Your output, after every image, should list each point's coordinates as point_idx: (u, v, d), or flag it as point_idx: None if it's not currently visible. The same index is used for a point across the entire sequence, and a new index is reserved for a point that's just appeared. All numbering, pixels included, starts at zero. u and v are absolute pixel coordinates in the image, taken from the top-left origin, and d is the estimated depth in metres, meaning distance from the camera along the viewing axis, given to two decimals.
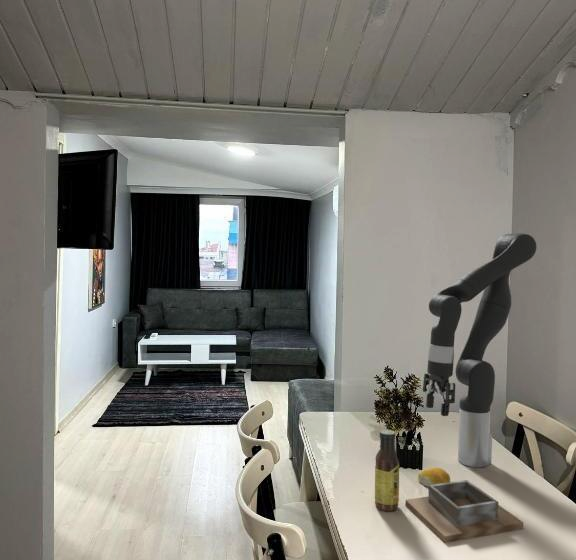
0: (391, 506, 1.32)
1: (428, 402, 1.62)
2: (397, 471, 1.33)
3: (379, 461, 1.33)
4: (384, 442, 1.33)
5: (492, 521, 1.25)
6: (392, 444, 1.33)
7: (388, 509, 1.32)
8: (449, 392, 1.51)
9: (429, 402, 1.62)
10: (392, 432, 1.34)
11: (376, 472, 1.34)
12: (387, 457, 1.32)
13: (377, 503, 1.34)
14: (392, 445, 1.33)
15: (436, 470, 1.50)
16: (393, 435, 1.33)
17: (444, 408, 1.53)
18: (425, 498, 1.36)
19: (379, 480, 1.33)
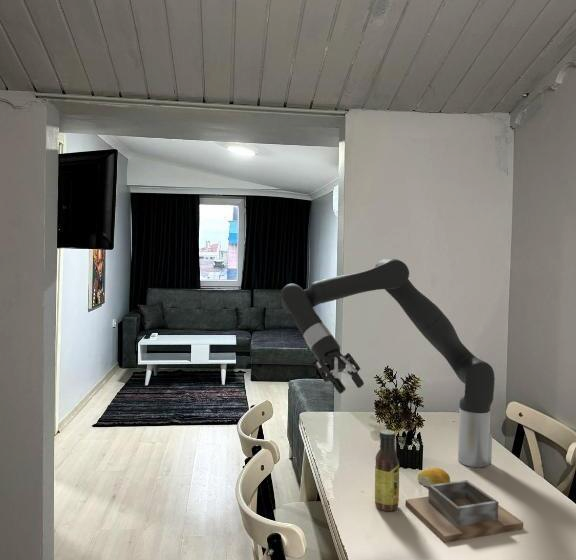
0: (391, 506, 1.32)
1: (355, 383, 1.45)
2: (397, 471, 1.33)
3: (379, 461, 1.33)
4: (384, 442, 1.33)
5: (492, 521, 1.25)
6: (392, 444, 1.33)
7: (388, 509, 1.32)
8: (320, 371, 1.40)
9: (356, 382, 1.45)
10: (392, 432, 1.34)
11: (376, 472, 1.34)
12: (387, 457, 1.32)
13: (377, 503, 1.34)
14: (392, 445, 1.33)
15: (436, 470, 1.50)
16: (393, 435, 1.33)
17: None
18: (425, 498, 1.36)
19: (379, 480, 1.33)
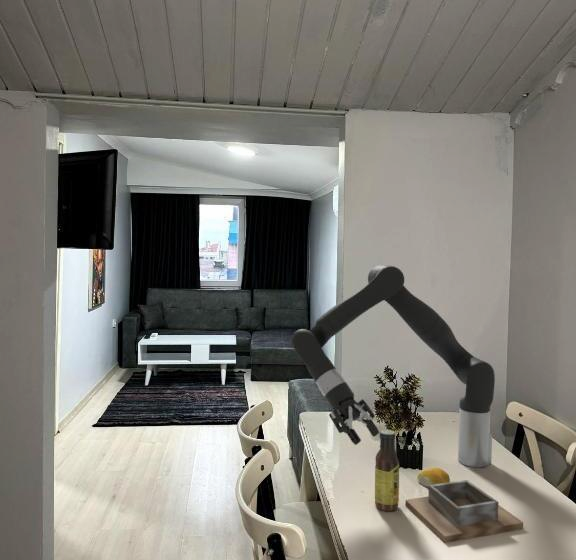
0: (391, 506, 1.32)
1: (370, 431, 1.43)
2: (397, 471, 1.33)
3: (379, 461, 1.33)
4: (384, 442, 1.33)
5: (492, 521, 1.25)
6: (392, 444, 1.33)
7: (388, 509, 1.32)
8: (334, 421, 1.37)
9: (371, 430, 1.42)
10: (392, 432, 1.34)
11: (376, 472, 1.34)
12: (387, 457, 1.32)
13: (377, 503, 1.34)
14: (392, 445, 1.33)
15: (436, 470, 1.49)
16: (393, 435, 1.33)
17: None
18: (425, 498, 1.36)
19: (379, 480, 1.33)
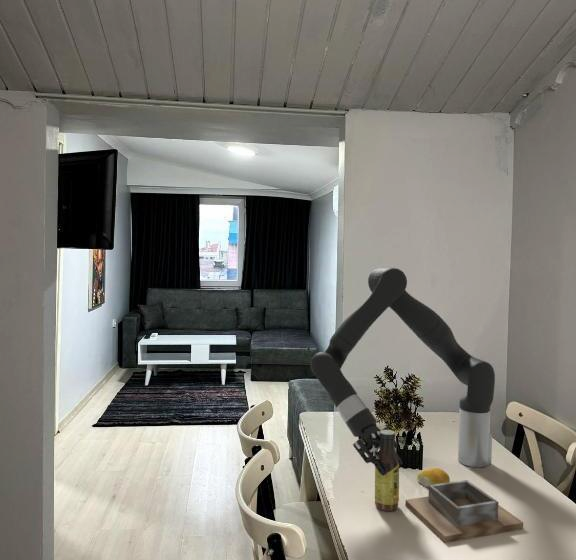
0: (391, 506, 1.32)
1: None
2: (397, 471, 1.32)
3: None
4: (383, 442, 1.33)
5: (492, 521, 1.25)
6: (392, 444, 1.33)
7: (388, 509, 1.32)
8: (359, 452, 1.32)
9: None
10: (392, 432, 1.34)
11: (376, 472, 1.34)
12: (387, 457, 1.32)
13: (377, 503, 1.34)
14: (392, 445, 1.33)
15: (435, 470, 1.49)
16: (393, 435, 1.33)
17: None
18: (425, 498, 1.36)
19: (379, 481, 1.33)
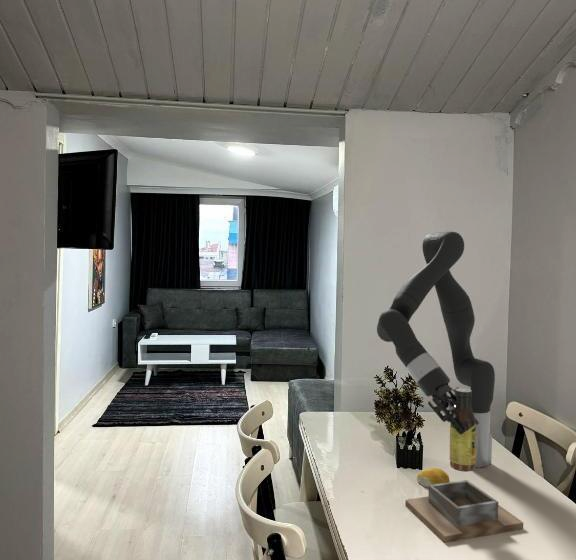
0: (469, 466, 1.26)
1: None
2: (475, 430, 1.27)
3: None
4: (460, 400, 1.27)
5: (492, 521, 1.25)
6: (469, 402, 1.27)
7: (466, 470, 1.26)
8: (435, 410, 1.27)
9: None
10: (469, 390, 1.28)
11: (452, 432, 1.28)
12: (465, 415, 1.26)
13: (453, 464, 1.28)
14: (469, 403, 1.27)
15: (435, 471, 1.49)
16: (470, 393, 1.27)
17: None
18: (425, 498, 1.36)
19: (456, 440, 1.27)
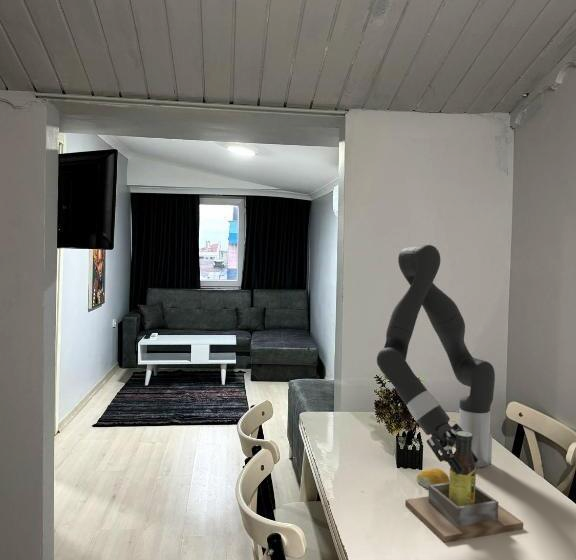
0: None
1: None
2: (474, 475, 1.27)
3: None
4: (461, 444, 1.28)
5: (492, 521, 1.25)
6: (469, 446, 1.28)
7: None
8: (433, 449, 1.27)
9: None
10: (469, 434, 1.29)
11: (452, 475, 1.29)
12: (465, 460, 1.27)
13: None
14: (470, 447, 1.28)
15: (435, 471, 1.49)
16: (471, 437, 1.28)
17: None
18: (425, 498, 1.36)
19: (455, 484, 1.28)
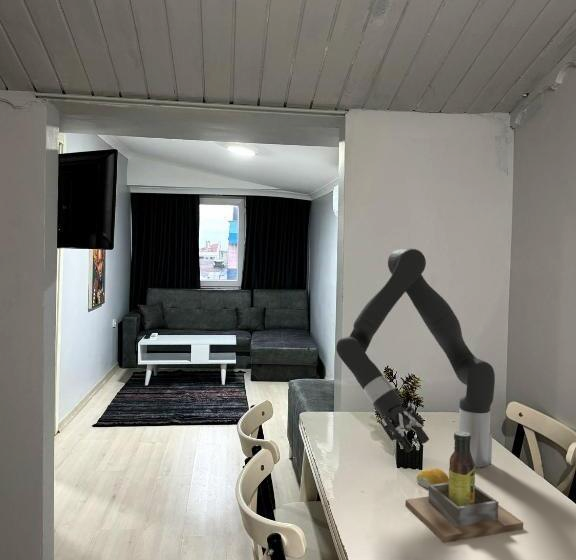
0: None
1: (420, 438, 1.42)
2: (473, 474, 1.27)
3: (455, 463, 1.28)
4: (459, 444, 1.28)
5: (492, 521, 1.25)
6: (468, 446, 1.28)
7: None
8: (385, 429, 1.37)
9: (420, 437, 1.42)
10: (467, 434, 1.29)
11: (451, 475, 1.29)
12: (463, 460, 1.27)
13: None
14: (468, 447, 1.28)
15: (435, 471, 1.49)
16: (469, 437, 1.28)
17: None
18: (425, 498, 1.36)
19: (455, 484, 1.28)
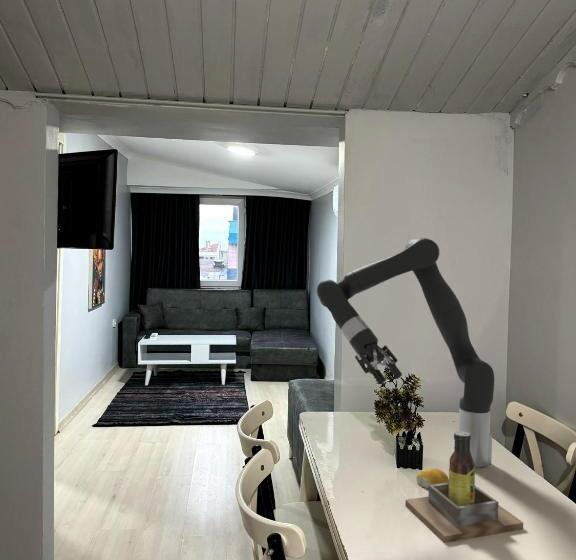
0: None
1: (393, 374, 1.50)
2: (473, 474, 1.27)
3: (455, 463, 1.28)
4: (459, 444, 1.28)
5: (492, 521, 1.25)
6: (468, 446, 1.28)
7: None
8: (360, 362, 1.44)
9: (394, 373, 1.49)
10: (467, 434, 1.29)
11: (451, 475, 1.29)
12: (463, 460, 1.27)
13: None
14: (468, 447, 1.28)
15: (434, 471, 1.49)
16: (469, 437, 1.28)
17: None
18: (425, 498, 1.36)
19: (455, 484, 1.28)
